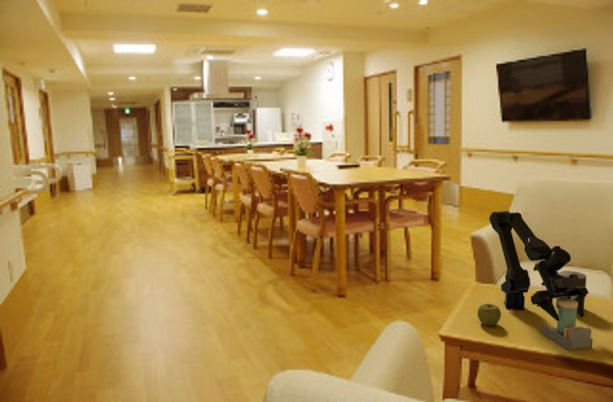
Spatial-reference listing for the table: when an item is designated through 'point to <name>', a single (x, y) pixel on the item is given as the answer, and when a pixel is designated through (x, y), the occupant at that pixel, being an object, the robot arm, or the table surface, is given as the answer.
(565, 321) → the jar
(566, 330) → the plate
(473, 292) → the table surface
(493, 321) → the apple
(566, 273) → the pillar candle
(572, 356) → the table surface
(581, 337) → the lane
